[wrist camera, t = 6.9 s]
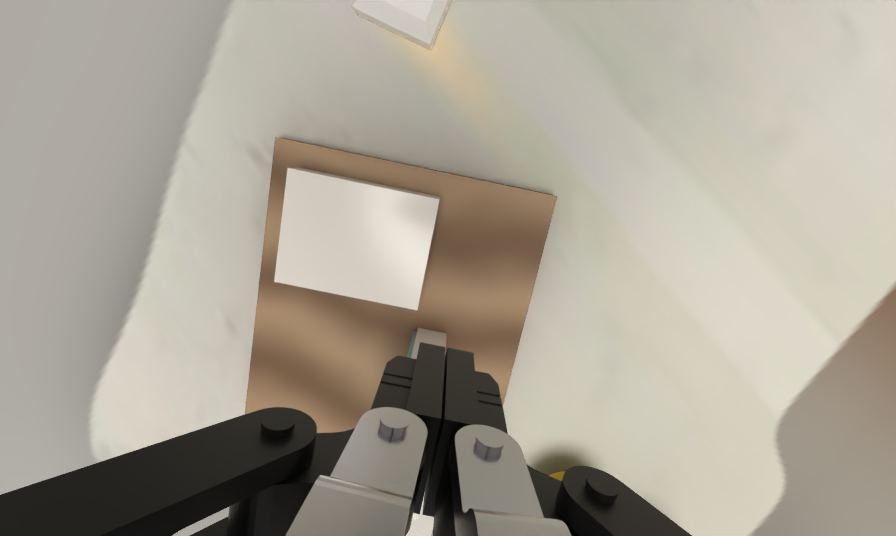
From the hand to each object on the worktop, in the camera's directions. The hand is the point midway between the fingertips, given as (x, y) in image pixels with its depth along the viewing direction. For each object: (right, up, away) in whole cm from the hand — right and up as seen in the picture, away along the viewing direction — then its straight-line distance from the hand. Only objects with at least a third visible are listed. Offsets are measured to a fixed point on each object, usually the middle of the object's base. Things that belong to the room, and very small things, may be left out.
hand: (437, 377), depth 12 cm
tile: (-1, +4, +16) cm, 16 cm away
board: (-4, 0, +19) cm, 20 cm away
